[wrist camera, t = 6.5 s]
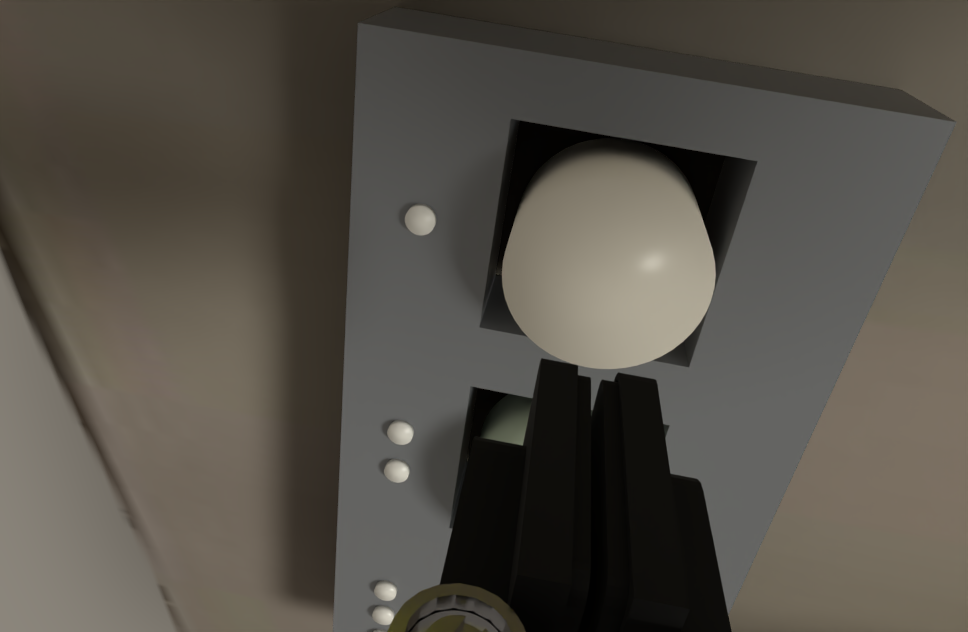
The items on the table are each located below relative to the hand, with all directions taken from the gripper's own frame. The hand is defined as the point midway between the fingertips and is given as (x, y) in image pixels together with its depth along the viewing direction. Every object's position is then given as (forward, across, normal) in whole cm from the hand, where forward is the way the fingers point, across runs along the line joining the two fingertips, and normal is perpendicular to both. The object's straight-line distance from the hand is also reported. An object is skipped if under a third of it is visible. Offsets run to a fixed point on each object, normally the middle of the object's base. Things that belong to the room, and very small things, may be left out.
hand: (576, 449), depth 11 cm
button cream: (+8, 0, 0) cm, 8 cm away
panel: (+10, 0, +7) cm, 12 cm away
